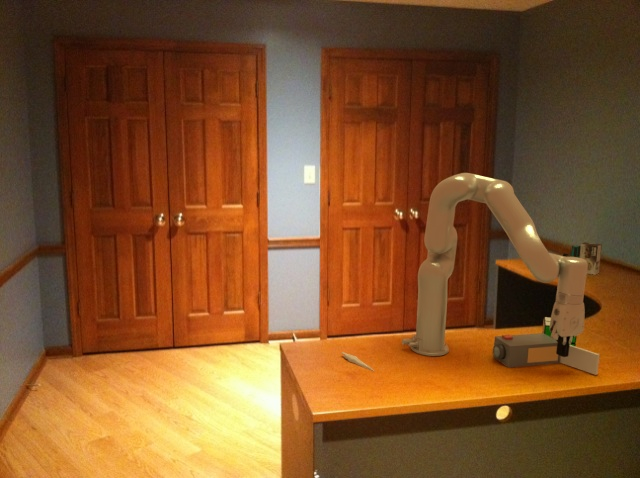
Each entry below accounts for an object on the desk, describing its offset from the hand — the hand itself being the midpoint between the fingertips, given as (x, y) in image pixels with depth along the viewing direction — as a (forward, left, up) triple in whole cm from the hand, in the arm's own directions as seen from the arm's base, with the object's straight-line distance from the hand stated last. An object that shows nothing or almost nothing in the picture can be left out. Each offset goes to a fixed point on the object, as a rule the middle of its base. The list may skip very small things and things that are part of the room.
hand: (562, 355), depth 176 cm
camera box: (-6, +10, -5) cm, 13 cm away
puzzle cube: (+10, +16, -6) cm, 20 cm away
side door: (+7, +1, -5) cm, 8 cm away
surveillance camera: (+106, +134, -6) cm, 171 cm away
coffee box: (+103, +115, -6) cm, 155 cm away
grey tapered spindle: (-60, +18, -6) cm, 63 cm away
